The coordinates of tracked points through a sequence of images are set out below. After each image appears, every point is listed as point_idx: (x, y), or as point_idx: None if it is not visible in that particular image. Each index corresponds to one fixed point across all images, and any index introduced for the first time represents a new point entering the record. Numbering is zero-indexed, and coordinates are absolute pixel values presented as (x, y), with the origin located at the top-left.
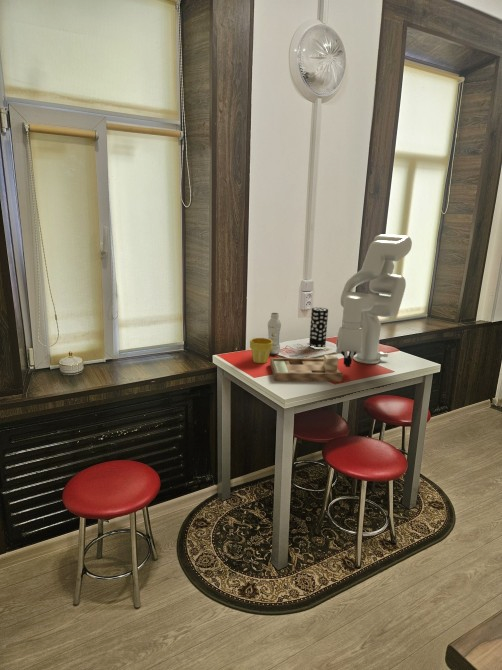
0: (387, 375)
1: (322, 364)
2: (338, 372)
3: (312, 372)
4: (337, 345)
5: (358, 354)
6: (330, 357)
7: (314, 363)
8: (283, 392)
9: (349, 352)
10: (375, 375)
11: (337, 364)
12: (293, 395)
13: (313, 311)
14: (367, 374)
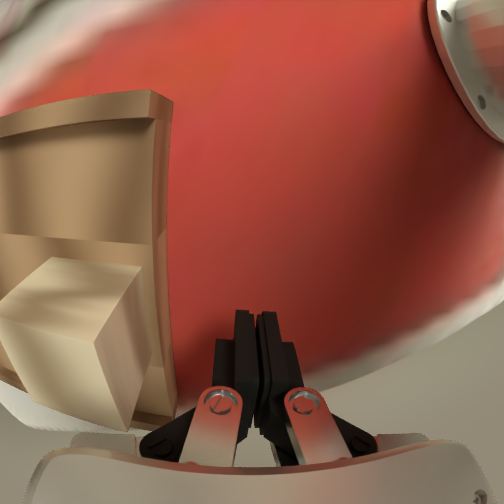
0: (462, 322)
1: (47, 228)
2: (154, 390)
3: None
4: (49, 474)
5: (479, 33)
6: (53, 393)
7: (3, 204)
8: (5, 399)
9: (293, 444)
10: (417, 328)
11: (138, 386)
12: (30, 420)
13: None
14: (387, 316)
